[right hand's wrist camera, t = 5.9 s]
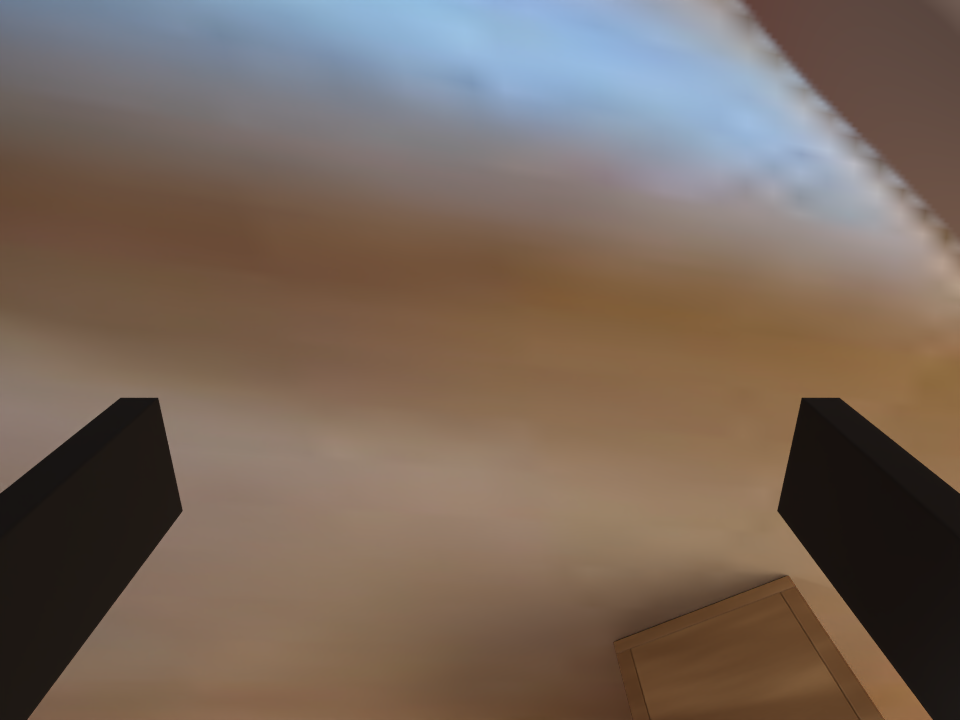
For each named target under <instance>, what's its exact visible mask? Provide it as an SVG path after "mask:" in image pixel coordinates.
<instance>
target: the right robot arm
mask: <svg viewBox="0 0 960 720" xmlns="http://www.w3.org/2000/svg"><path fill="white" fill-rule="evenodd" d="M182 511H183V510H182V506H181V501H180V496H179V492H178V487H177V483H176V478H175V473H174V469H173V464H172V460H171V455H170V450H169V446H168V441H167V436H166V432H165V427H164V423H163V418H162V413H161V409H160V404H159V400H158V398H120V399H119V400H117V401H116V402H115V403H114V404H112V405H111V406H110V407H108V408H107V409H106V410H105V411H103V412H102V413H101V414H100V415H98V416H97V417H96V418H95V419H93V420H92V421H91V422H90V423H88V424H87V425H86V426H85V427H83V428H82V429H81V430H80V431H78V432H77V433H76V434H75V435H73V436H72V437H71V438H70V439H68V440H67V441H66V442H65V443H63V444H62V445H61V446H60V447H58V448H57V449H56V450H55V451H53V452H52V453H51V454H49V455H48V456H47V457H46V458H44V459H43V460H42V461H41V462H39V463H38V464H37V465H36V466H34V467H33V468H32V469H31V470H29V471H28V472H27V473H26V474H24V475H23V476H22V477H21V478H19V479H18V480H17V481H16V482H14V483H13V484H12V485H11V486H9V487H8V488H7V489H6V490H4V491H3V492H2V493H1V494H0V720H27V719H28V718H29V716H30V715H31V714H32V712H33V711H34V710H35V708H36V707H37V706H38V704H39V703H40V702H41V700H42V699H43V698H44V696H45V695H46V694H47V692H48V691H49V690H50V688H51V687H52V686H53V684H54V683H55V681H56V680H57V679H58V677H59V676H60V675H61V673H62V672H63V671H64V669H65V668H66V667H67V665H68V664H69V663H70V661H71V660H72V659H73V657H74V656H75V655H76V653H77V652H78V651H79V649H80V648H81V647H82V645H83V644H84V643H85V641H86V640H87V639H88V637H89V636H90V635H91V633H92V632H93V630H94V629H95V628H96V626H97V625H98V624H99V622H100V621H101V620H102V618H103V617H104V616H105V614H106V613H107V612H108V610H109V609H110V608H111V606H112V605H113V604H114V602H115V601H116V600H117V598H118V597H119V596H120V594H121V593H122V592H123V590H124V589H125V588H126V586H127V585H128V583H129V582H130V581H131V579H132V578H133V577H134V575H135V574H136V573H137V571H138V570H139V569H140V567H141V566H142V565H143V563H144V562H145V561H146V559H147V558H148V557H149V555H150V554H151V553H152V551H153V550H154V549H155V547H156V546H157V545H158V543H159V542H160V541H161V539H162V538H163V537H164V535H165V534H166V532H167V531H168V530H169V528H170V527H171V526H172V524H173V523H174V522H175V520H176V519H177V518H178V516H179V515H180V514H181V512H182ZM777 511H778V512H779V514H780V515H781V516H782V518H783V519H784V520H785V522H786V523H787V524H788V526H789V527H790V528H791V530H792V531H793V532H794V534H795V535H796V537H797V538H798V539H799V541H800V542H801V543H802V545H803V546H804V547H805V549H806V550H807V551H808V553H809V554H810V555H811V557H812V558H813V559H814V561H815V562H816V563H817V565H818V566H819V567H820V569H821V570H822V571H823V573H824V574H825V575H826V577H827V578H828V579H829V581H830V582H831V583H832V585H833V586H834V588H835V589H836V590H837V592H838V593H839V594H840V596H841V597H842V598H843V600H844V601H845V602H846V604H847V605H848V606H849V608H850V609H851V610H852V612H853V613H854V614H855V616H856V617H857V618H858V620H859V621H860V622H861V624H862V625H863V626H864V628H865V629H866V630H867V632H868V633H869V635H870V636H871V637H872V639H873V640H874V641H875V643H876V644H877V645H878V647H879V648H880V649H881V651H882V652H883V653H884V655H885V656H886V657H887V659H888V660H889V661H890V663H891V664H892V665H893V667H894V668H895V669H896V671H897V672H898V673H899V675H900V676H901V677H902V679H903V680H904V681H905V683H906V684H907V686H908V687H909V688H910V690H911V691H912V692H913V694H914V695H915V696H916V698H917V699H918V700H919V702H920V703H921V704H922V706H923V707H924V708H925V710H926V711H927V712H928V714H929V715H930V716H931V718H932V719H933V720H960V494H959V493H958V492H957V491H956V490H954V489H953V488H952V487H951V486H949V485H948V484H947V483H946V482H944V481H943V480H942V479H941V478H939V477H938V476H937V475H936V474H934V473H933V472H932V471H931V470H929V469H928V468H927V467H926V466H924V465H923V464H922V463H921V462H919V461H918V460H917V459H916V458H914V457H913V456H912V455H911V454H909V453H908V452H907V451H905V450H904V449H903V448H902V447H900V446H899V445H898V444H897V443H895V442H894V441H893V440H892V439H890V438H889V437H888V436H887V435H885V434H884V433H883V432H882V431H880V430H879V429H878V428H877V427H875V426H874V425H873V424H872V423H870V422H869V421H868V420H867V419H865V418H864V417H863V416H862V415H860V414H859V413H858V412H857V411H855V410H854V409H853V408H852V407H850V406H849V405H848V404H846V403H845V402H844V401H843V400H841V399H840V398H802V400H801V404H800V409H799V413H798V418H797V423H796V427H795V432H794V436H793V441H792V446H791V450H790V455H789V460H788V464H787V469H786V473H785V478H784V483H783V487H782V492H781V496H780V501H779V506H778V510H777Z"/></svg>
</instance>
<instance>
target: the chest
mask: <svg viewBox="0 0 960 720" xmlns="http://www.w3.org/2000/svg"><path fill="white" fill-rule="evenodd" d="M614 647H615V651H616V654H617V659H618V663H619V667H620V671H621V675H622V679H623V683H624V687H625V691H626V695H627V698H628V702H629V706H630V710H631V714H632V718H633V720H884V718H883V717H882V715H881V714H880V712H879V711H878V709H877V708H876V706H875V705H874V703H873V702H872V700H871V699H870V697H869V696H868V694H867V693H866V691H865V690H864V688H863V687H862V685H861V684H860V682H859V681H858V679H857V678H856V676H855V675H854V673H853V672H852V670H851V669H850V667H849V666H848V664H847V663H846V661H845V660H844V658H843V657H842V655H841V654H840V652H839V651H838V649H837V648H836V646H835V645H834V643H833V642H832V640H831V639H830V637H829V636H828V634H827V633H826V631H825V630H824V628H823V627H822V625H821V624H820V622H819V621H818V619H817V618H816V616H815V614H814V613H813V611H812V610H811V608H810V607H809V605H808V604H807V602H806V601H805V599H804V598H803V596H802V595H801V593H800V592H799V590H798V589H797V588H796V586H795V584H794V583H793V581H792V580H791V578H790V577H789V576H785V577H783V578H780V579H778V580H775V581H772V582H770V583H767V584H764V585H762V586H759V587H757V588H754V589H751V590H749V591H746V592H744V593H741V594H738V595H736V596H733V597H730V598H728V599H725V600H723V601H720V602H717V603H715V604H712V605H710V606H707V607H704V608H702V609H699V610H696V611H694V612H691V613H689V614H686V615H683V616H681V617H678V618H676V619H673V620H670V621H668V622H665V623H663V624H660V625H657V626H655V627H652V628H649V629H647V630H644V631H642V632H639V633H636V634H634V635H631V636H629V637H626V638H623V639H621V640H618V641H615V642H614Z"/></svg>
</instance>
